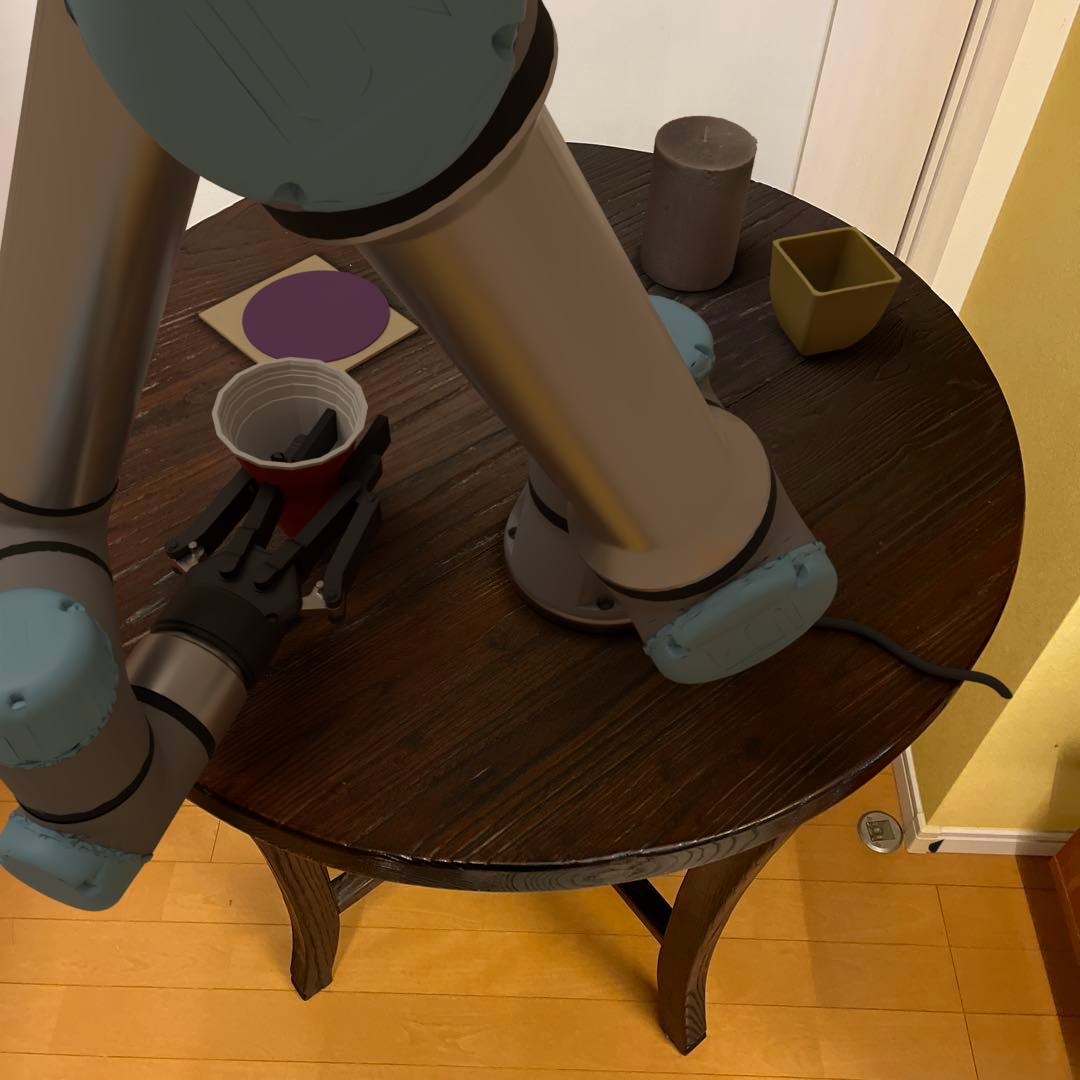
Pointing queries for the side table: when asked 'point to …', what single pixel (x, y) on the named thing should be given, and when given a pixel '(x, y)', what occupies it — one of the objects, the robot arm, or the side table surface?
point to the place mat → (310, 317)
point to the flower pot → (829, 288)
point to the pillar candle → (696, 201)
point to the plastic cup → (290, 428)
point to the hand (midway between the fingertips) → (361, 422)
